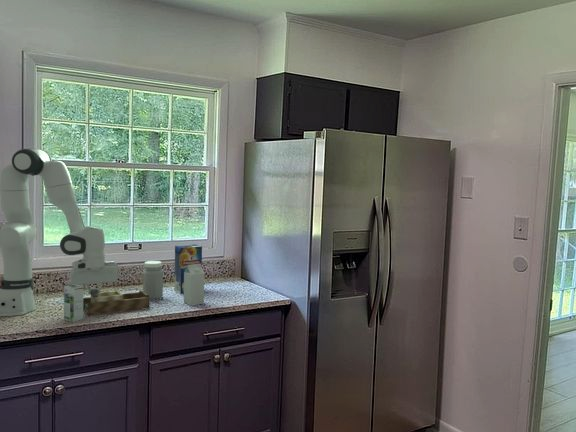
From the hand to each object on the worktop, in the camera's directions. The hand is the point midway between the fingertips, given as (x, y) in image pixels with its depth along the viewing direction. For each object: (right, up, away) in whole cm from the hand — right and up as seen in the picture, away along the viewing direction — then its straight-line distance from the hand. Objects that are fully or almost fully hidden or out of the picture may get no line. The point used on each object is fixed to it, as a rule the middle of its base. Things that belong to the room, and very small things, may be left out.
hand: (93, 293), depth 232 cm
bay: (+8, -8, +6) cm, 13 cm away
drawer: (+4, -7, +4) cm, 9 cm away
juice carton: (+33, -5, +43) cm, 55 cm away
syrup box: (-4, -9, -12) cm, 16 cm away
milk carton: (+41, -8, +20) cm, 46 cm away
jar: (+19, -7, +27) cm, 34 cm away
